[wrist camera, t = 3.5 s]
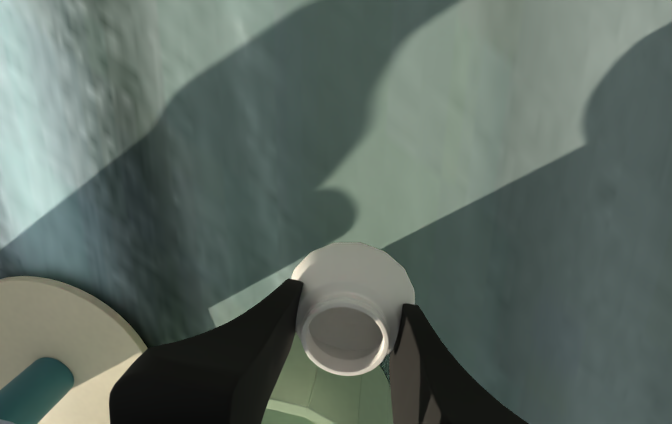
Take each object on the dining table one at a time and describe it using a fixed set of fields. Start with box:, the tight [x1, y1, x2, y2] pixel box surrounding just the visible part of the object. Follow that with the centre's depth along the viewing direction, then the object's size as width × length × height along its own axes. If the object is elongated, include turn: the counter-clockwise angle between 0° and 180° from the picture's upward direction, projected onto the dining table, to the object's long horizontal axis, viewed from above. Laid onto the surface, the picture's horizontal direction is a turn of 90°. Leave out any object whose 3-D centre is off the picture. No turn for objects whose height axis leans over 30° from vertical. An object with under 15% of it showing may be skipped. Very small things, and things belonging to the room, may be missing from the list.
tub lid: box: [0, 276, 148, 424], centre depth 21 cm, size 13×13×5 cm
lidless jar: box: [291, 242, 415, 376], centre depth 15 cm, size 5×3×5 cm
